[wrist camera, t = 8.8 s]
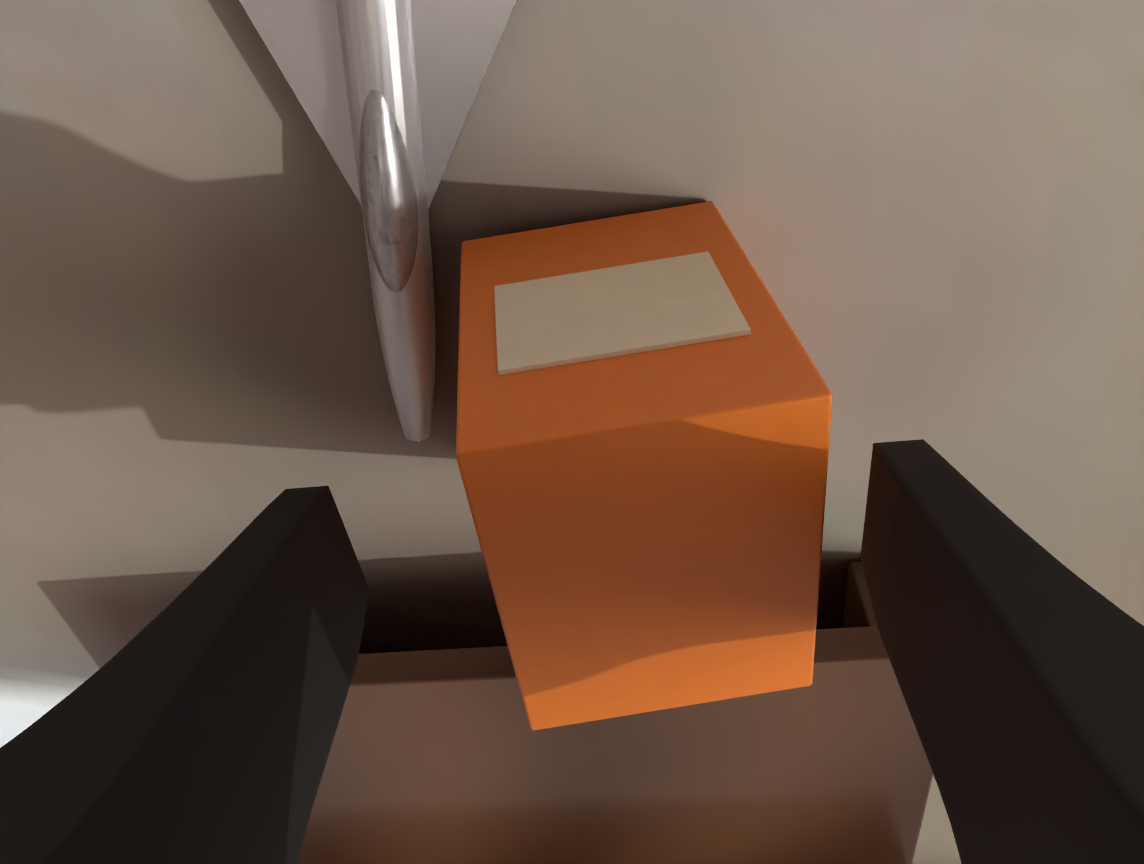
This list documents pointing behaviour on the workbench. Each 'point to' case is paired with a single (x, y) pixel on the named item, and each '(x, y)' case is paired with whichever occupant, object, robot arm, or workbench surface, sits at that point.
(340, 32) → the toy airplane
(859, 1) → the workbench surface
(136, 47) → the workbench surface
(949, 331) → the workbench surface
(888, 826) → the shelf
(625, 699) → the packet
